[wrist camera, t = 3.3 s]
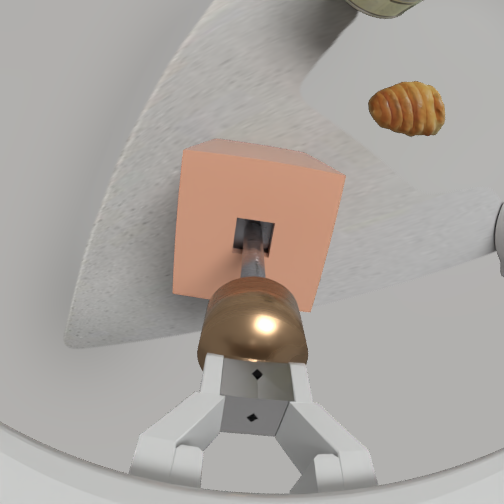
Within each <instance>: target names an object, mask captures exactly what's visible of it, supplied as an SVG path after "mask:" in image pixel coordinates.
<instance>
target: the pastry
mask: <svg viewBox="0 0 504 504" xmlns="http://www.w3.org/2000/svg"><path fill="white" fill-rule="evenodd" d="M368 105H369V112H370V114H371V116H372V117H373V119H374V120H375V121H376V122H377V123H378V125H379V126H380V127H382V128H386V129H390V130H392V131H394V132H397V133H403V134H406V135H408V136H414V135H426V136H429V135H436V134H437V133H438V131H439V130H440V129H441V127H442V126H443V124H444V121H445V108H444V104H443V102H442V99H441V96H440V94H439V93H438V91H437V90H436V89H435V88H434V87H432V86H430V85H425V84H423V83H421V82H418V81H414V82H401V83H399V84H395V85H394V86H391V87H388V88H385V89H383V90H381V91H378V92H377V93H376V94H375V95H374V96H372V97H371V99H370V100H369V103H368Z"/></svg>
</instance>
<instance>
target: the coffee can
mask: <svg viewBox="0 0 504 504" xmlns="http://www.w3.org/2000/svg"><path fill="white" fill-rule="evenodd" d="M345 1H346V2H347V3H348V4H350V5H351V6H352V7H354V8H355V9H357V10H358V11H360V12H362V13H364V14H366V15H369V16H372V17H376V18H384V19H389V18H395V17H398V16H400V15H402V14H403V13H404V12H405V11H407V10H408V9H410V8H411V7H413V6H415V5H416V4H418V3H419V2H421V1H423V0H345Z"/></svg>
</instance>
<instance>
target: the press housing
mask: <svg viewBox="0 0 504 504" xmlns="http://www.w3.org/2000/svg"><path fill="white" fill-rule="evenodd" d="M345 178H346V175H344V174H342V173H340V172H339V171H337V170H335V169H333V168H332V167H330V166H328V165H326V164H325V163H323V162H321V161H319V160H317V159H316V158H314V157H312V156H310V155H308V154H306V153H304V152H299V151H294V150H288V149H283V148H277V147H271V146H265V145H259V144H252V143H245V142H238V141H231V140H223V139H212V140H209V141H206V142H203V143H201V144H198V145H195V146H192V147H189V148H186V149H184V150H183V157H182V166H181V176H180V186H179V197H178V208H177V221H176V235H175V251H174V271H173V294H179V295H185V296H191V297H197V298H204V299H211V297H212V295H213V294H214V293H215V292H216V291H217V290H218V289H219V288H220V287H221V286H223V285H224V284H226V283H228V282H230V281H232V280H234V279H238V278H240V277H241V265H242V252H243V249H237V248H233V243H234V236H235V229H236V222H237V218H243V219H250V220H257V221H263V222H270V223H274V224H273V229H272V234H271V240H270V245H269V250H268V253H264V263H265V276H266V278H268V279H271V280H274V281H276V282H278V283H280V284H281V285H283V286H284V287H286V288H287V289H288V290H289V291H290V292H291V293H292V294H293V296H294V297H295V299H296V301H297V304H298V307H299V311H303V312H311V309H312V305H313V302H314V299H315V295H316V292H317V288H318V285H319V281H320V278H321V274H322V271H323V267H324V263H325V260H326V256H327V252H328V248H329V245H330V241H331V237H332V233H333V229H334V225H335V221H336V217H337V213H338V208H339V204H340V200H341V195H342V191H343V187H344V182H345Z"/></svg>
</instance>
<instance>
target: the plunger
mask: <svg viewBox="0 0 504 504" xmlns="http://www.w3.org/2000/svg"><path fill="white" fill-rule="evenodd" d="M273 224H274V223H270V222H263V221H257V220H250V219H243V218H237V222H236V229H235V236H234V243H233V248H237V249H243V252H242V265H241V277H240V278H238V279H234V280H232V281H230V282H228V283H226V284H224V285H223V286H221V287H220V288H219V289H218V290H217V291H216V292H215V293H214V294H213V295H212V297H211V299H210V301H209V303H208V306H207V310H206V315H205V319H204V323H203V328H202V332H201V337H200V341H199V346H198V351H197V357H198V362H199V365H200V367H201V369H202V371H203V369H204V364H205V358H206V355H207V353H213V354H218V355H227V356H234V357H240V358H248V359H255V360H266V361H277V362H293V363H305V365H306V363H307V360H308V348H307V344H306V339H305V334H304V330H303V325H302V321H301V316H300V312H299V307H298V304H297V301H296V299H295V297H294V296H293V294H292V293H291V292H290V291H289V290H288V289H287V288H286V287H284V286H283V285H281V284H280V283H278V282H276V281H274V280H271V279H268V278H266V276H265V263H264V253H268V250H269V245H270V240H271V234H272V229H273Z"/></svg>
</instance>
